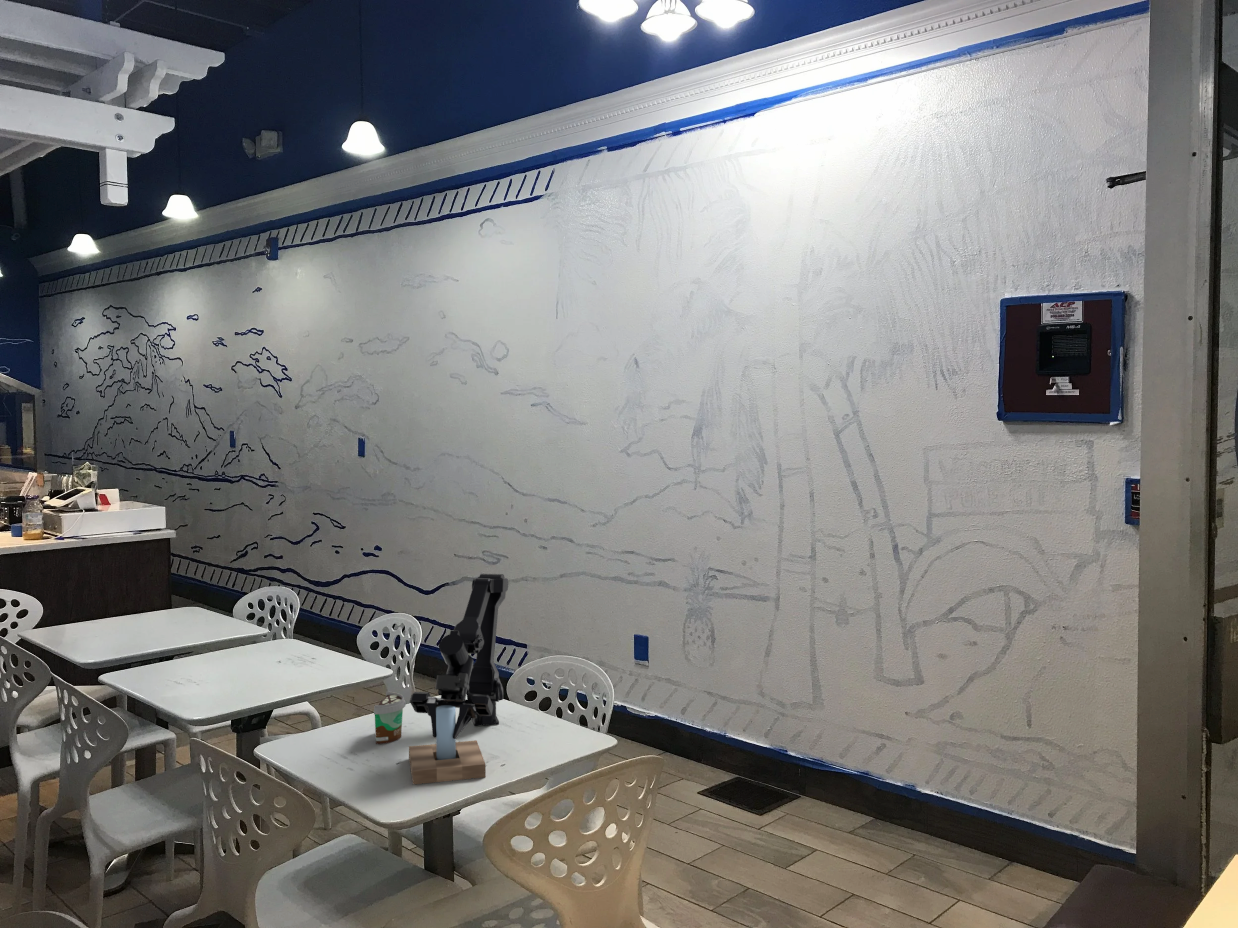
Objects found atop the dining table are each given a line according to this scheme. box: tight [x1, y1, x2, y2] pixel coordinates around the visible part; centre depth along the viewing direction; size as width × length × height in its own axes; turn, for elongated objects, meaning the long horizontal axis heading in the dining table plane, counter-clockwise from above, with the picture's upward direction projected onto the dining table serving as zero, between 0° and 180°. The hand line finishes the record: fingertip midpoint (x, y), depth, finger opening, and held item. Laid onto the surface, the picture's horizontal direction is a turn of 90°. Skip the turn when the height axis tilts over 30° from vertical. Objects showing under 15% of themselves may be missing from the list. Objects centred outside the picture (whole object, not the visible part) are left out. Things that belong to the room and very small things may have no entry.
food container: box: [373, 691, 406, 745], centre depth 242 cm, size 12×6×10 cm, turn 179°
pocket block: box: [408, 739, 487, 785], centre depth 222 cm, size 16×16×3 cm
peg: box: [435, 705, 457, 760], centre depth 222 cm, size 4×4×14 cm
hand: (444, 737), depth 220 cm, fingers closed on peg, 4 cm apart
